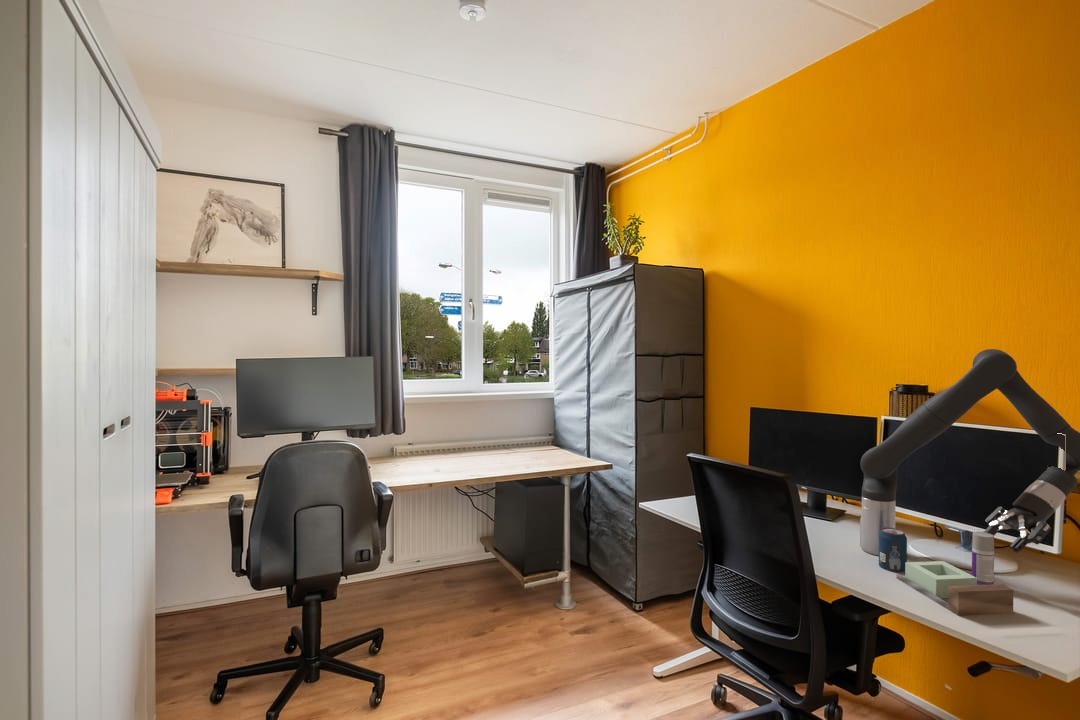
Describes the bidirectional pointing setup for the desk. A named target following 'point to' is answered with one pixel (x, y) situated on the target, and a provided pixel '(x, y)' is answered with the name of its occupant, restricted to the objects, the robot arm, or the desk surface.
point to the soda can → (892, 549)
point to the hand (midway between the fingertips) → (998, 544)
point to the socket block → (937, 576)
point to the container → (983, 558)
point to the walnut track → (972, 598)
